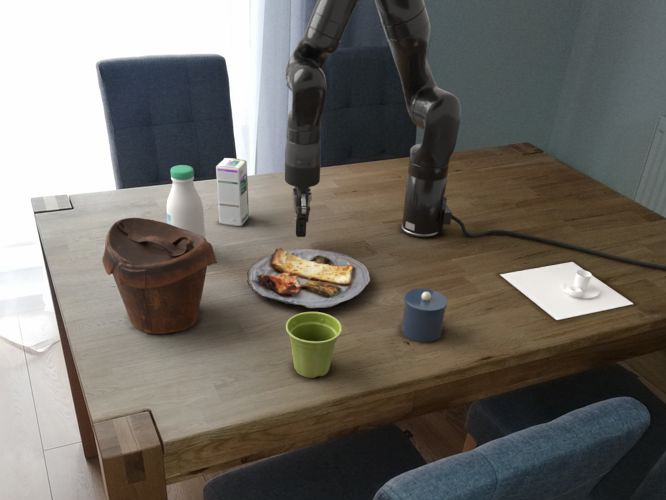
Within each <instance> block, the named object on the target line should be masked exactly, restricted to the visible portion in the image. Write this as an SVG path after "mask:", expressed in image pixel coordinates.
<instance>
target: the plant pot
mask: <svg viewBox="0 0 666 500" xmlns="http://www.w3.org/2000/svg"><path fill="white" fill-rule="evenodd" d="M342 329H343V327H342V324H341V322H340V321H339V320H338V319H337V318H336V317H334V316H332V315H330V314H329V313H325V312H319V311H305V312H300V313H297V314H295V315H293V316H291V317H290V318H288V320H287V321H286V323H285V330H286V333H287V335H288V337H289V339H290V345H291V352H292V359H293V361H292V362H293V367H294V370H295V371H296V373H297V374H298V375H300V376H301V377H304V378H310V379H315V378H316V377H324V376H325V375H327V374H328V373H329V371H330V367H331V363H332V358H333V355H334V350H335V346H336V342H337V341H338V338H339V337H340V336H341V334H342Z"/></svg>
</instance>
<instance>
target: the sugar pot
mask: <svg viewBox="0 0 666 500" xmlns="http://www.w3.org/2000/svg"><path fill="white" fill-rule="evenodd" d="M403 302H404V304H403V305H404V306H403V313H402V323H401V332H402V334H403V336H405V337H406V338H408V339H410V340H412V341H415V342H421V343H430V342H434V341H436V340H438V339H439V338H440V337H441V336H442V334H443V333H442V332H443V326H444V319H445V313H446V309H447V307H448V299H447V297H446V296H445V295H444V294H443V293H441V292H440V291H437V290H435V289H429V288H413V289H411V290H409V291H407V292H406V293H405V294H404V296H403Z"/></svg>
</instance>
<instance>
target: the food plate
mask: <svg viewBox="0 0 666 500" xmlns="http://www.w3.org/2000/svg"><path fill="white" fill-rule="evenodd" d="M246 274H247V275H246V276H247V277H246V278H247V280H246V283H247V284H248V286H249V289H252V291H255V292H256V294H257V295H258V296H261V297H265V298H269V299H272V300H275V301H278V302H281V303H284V304H285V305H294V306H295V305H296V306H302V307H305V308H307V309H319V308H331V307H333V306H336V305H339V304H340V303H343V302H346V301H349V300H351V299H353V298H354V297H357V296H358V295H359V294H361V293H362V291H364V290H365V288H367V285H368V284H369V282H370V281H371V276H370V272H369V270H368V268H367V267H366V266H365V264H363V263H362V262H360V261H358V260H357V259H354V258H352V257H351V256H349V255H347V254H344V253H341V252H336V251H331V250H330V251H329V250H323V249H314V248H294V249H290V250H289V249H286V250H284V249H283V248H275V251H274V252H273V253H272V254H267V255H264V256H263V257H262V258H260V259H258V260H257V261H255V262H254V263H252V264H251V266H249V268H248V269H247V272H246Z"/></svg>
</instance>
